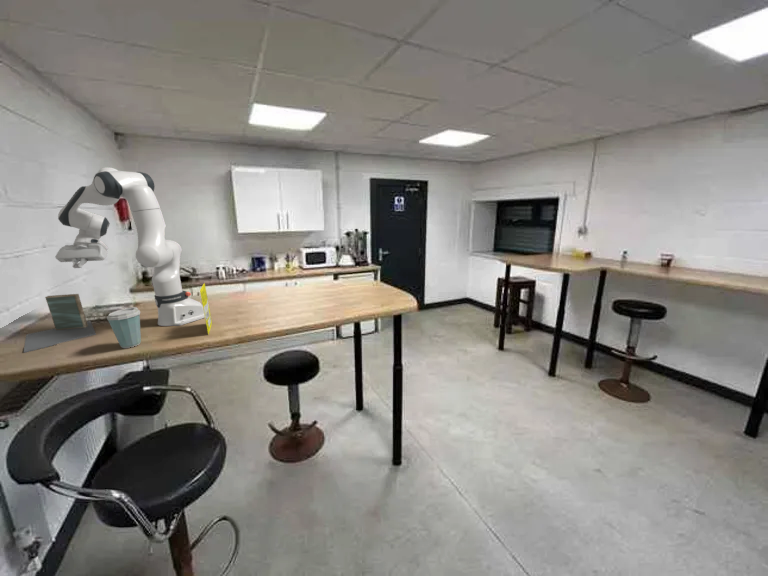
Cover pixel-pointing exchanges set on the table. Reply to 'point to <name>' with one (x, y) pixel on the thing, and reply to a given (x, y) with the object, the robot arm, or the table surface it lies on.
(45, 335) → the charcoal mat
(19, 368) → the table surface
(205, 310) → the food package
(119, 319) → the disposable coffee cup
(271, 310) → the table surface
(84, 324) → the ash tile
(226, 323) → the table surface
